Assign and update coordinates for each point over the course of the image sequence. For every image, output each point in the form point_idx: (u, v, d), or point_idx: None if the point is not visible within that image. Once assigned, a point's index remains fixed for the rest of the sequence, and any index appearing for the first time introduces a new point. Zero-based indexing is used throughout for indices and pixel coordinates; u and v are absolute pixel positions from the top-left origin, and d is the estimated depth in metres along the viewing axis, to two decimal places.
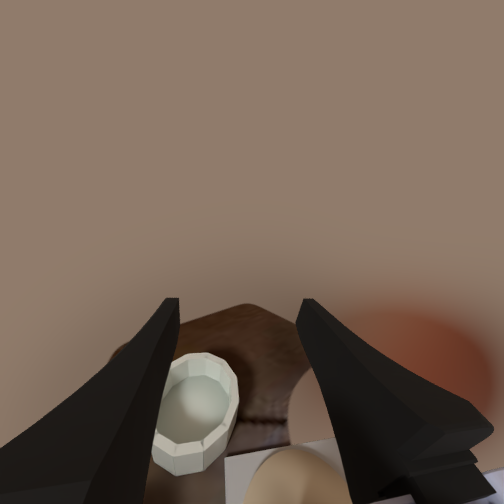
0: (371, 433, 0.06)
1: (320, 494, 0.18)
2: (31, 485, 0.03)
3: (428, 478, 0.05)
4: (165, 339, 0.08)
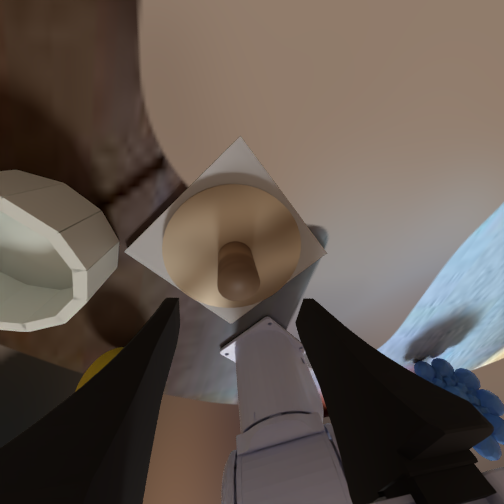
0: (371, 433, 0.06)
1: (234, 219, 0.15)
2: (32, 485, 0.03)
3: (428, 478, 0.05)
4: (165, 339, 0.08)
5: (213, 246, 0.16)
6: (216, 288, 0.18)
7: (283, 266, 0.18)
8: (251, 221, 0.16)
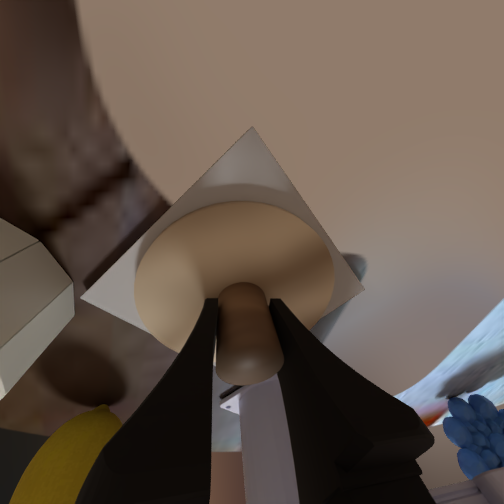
0: (316, 441, 0.06)
1: (241, 253, 0.10)
2: (161, 465, 0.04)
3: (364, 492, 0.05)
4: None
5: (210, 290, 0.11)
6: None
7: (307, 310, 0.13)
8: (266, 255, 0.11)
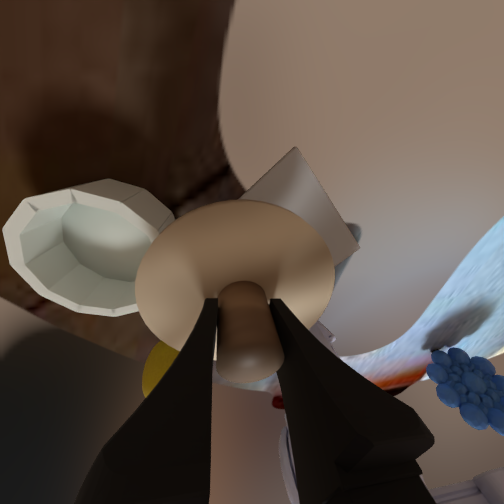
0: (316, 441, 0.06)
1: (241, 251, 0.10)
2: (161, 465, 0.04)
3: (364, 492, 0.05)
4: (214, 337, 0.08)
5: (210, 288, 0.11)
6: (216, 339, 0.13)
7: (308, 309, 0.13)
8: (266, 253, 0.11)
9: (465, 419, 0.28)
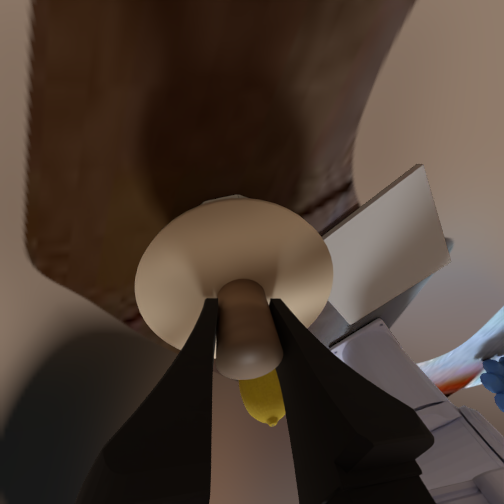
0: (316, 442, 0.06)
1: (241, 249, 0.10)
2: (161, 465, 0.04)
3: (364, 492, 0.05)
4: (214, 337, 0.08)
5: (210, 286, 0.11)
6: None
7: (307, 307, 0.13)
8: (265, 251, 0.11)
9: None
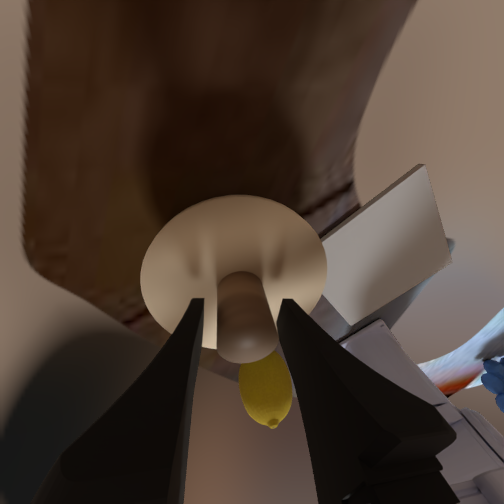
0: (336, 438, 0.06)
1: (239, 243, 0.11)
2: (119, 472, 0.03)
3: (388, 487, 0.05)
4: (197, 338, 0.08)
5: (211, 278, 0.12)
6: (216, 328, 0.14)
7: (302, 299, 0.14)
8: (262, 245, 0.11)
9: None
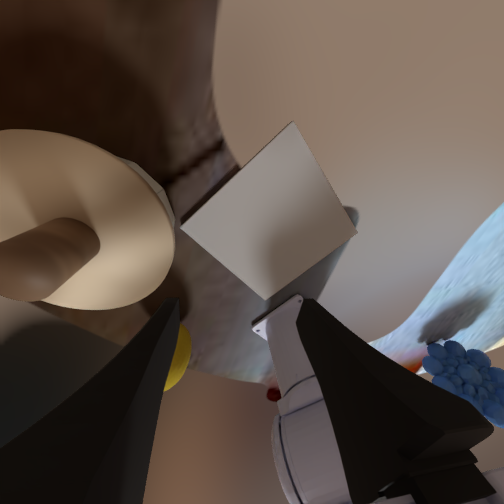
0: (371, 433, 0.06)
1: (47, 184, 0.11)
2: (31, 485, 0.03)
3: (428, 478, 0.05)
4: (165, 339, 0.08)
5: (32, 224, 0.12)
6: (64, 284, 0.14)
7: (153, 254, 0.14)
8: (76, 187, 0.11)
9: None
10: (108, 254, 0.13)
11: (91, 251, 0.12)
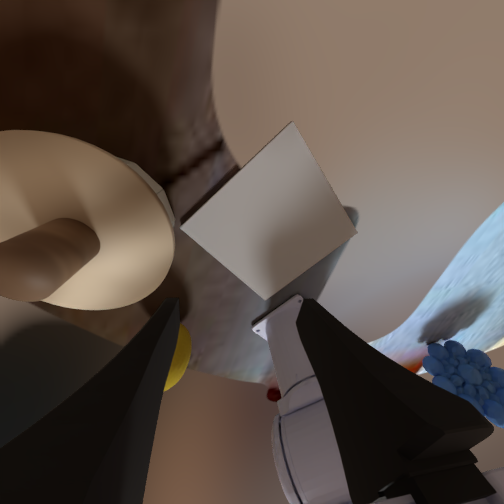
0: (371, 433, 0.06)
1: (47, 184, 0.11)
2: (31, 485, 0.03)
3: (428, 478, 0.05)
4: (165, 339, 0.08)
5: (32, 225, 0.12)
6: (64, 284, 0.14)
7: (152, 254, 0.14)
8: (76, 188, 0.11)
9: None
10: (108, 254, 0.13)
11: (91, 251, 0.12)
